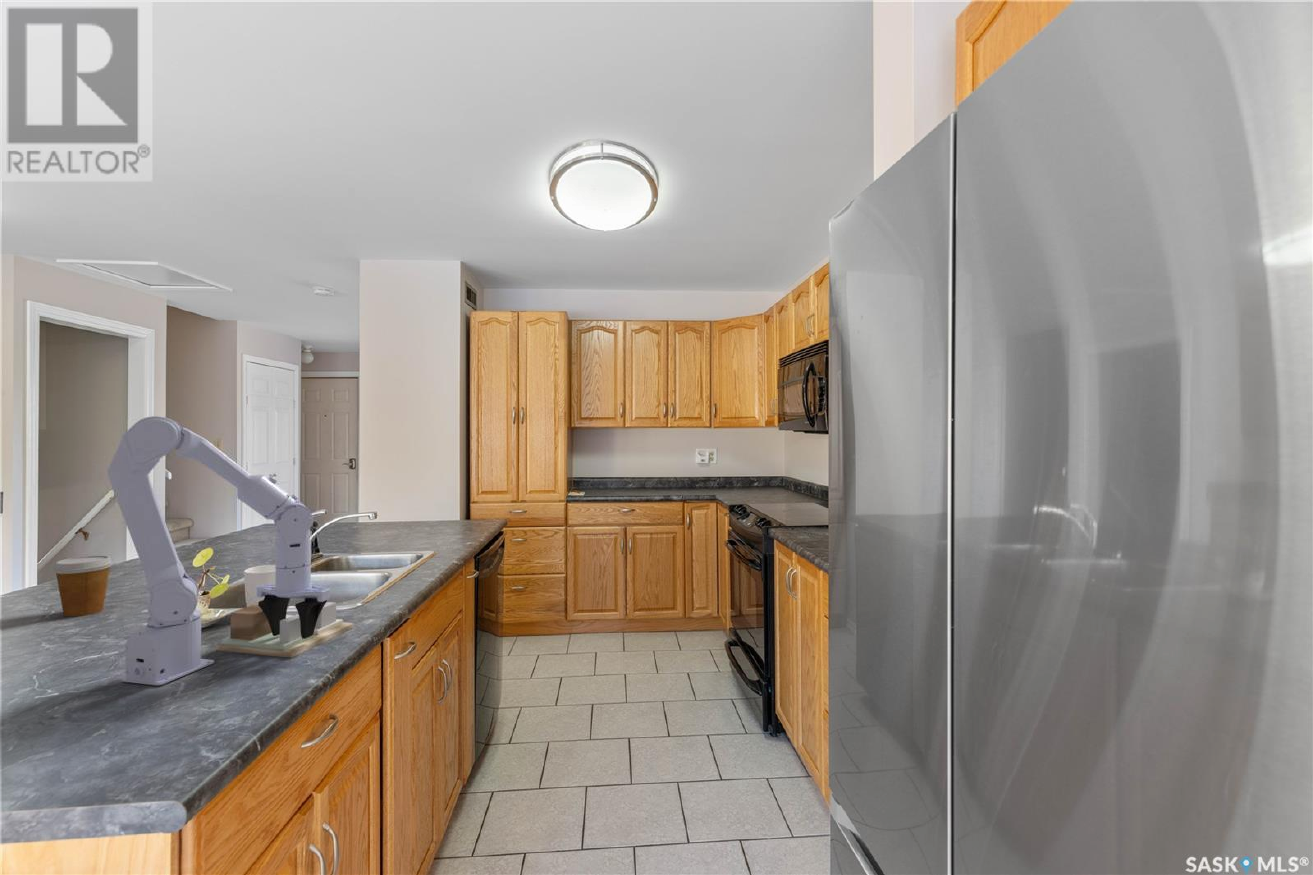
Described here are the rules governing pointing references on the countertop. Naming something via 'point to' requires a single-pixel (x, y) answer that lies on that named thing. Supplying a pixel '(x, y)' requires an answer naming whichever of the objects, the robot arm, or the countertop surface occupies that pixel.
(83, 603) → the disposable coffee cup
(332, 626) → the white strip
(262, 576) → the white cup
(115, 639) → the countertop surface
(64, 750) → the countertop surface
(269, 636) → the green strip
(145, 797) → the countertop surface
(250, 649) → the base
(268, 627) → the walnut block
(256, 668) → the countertop surface
